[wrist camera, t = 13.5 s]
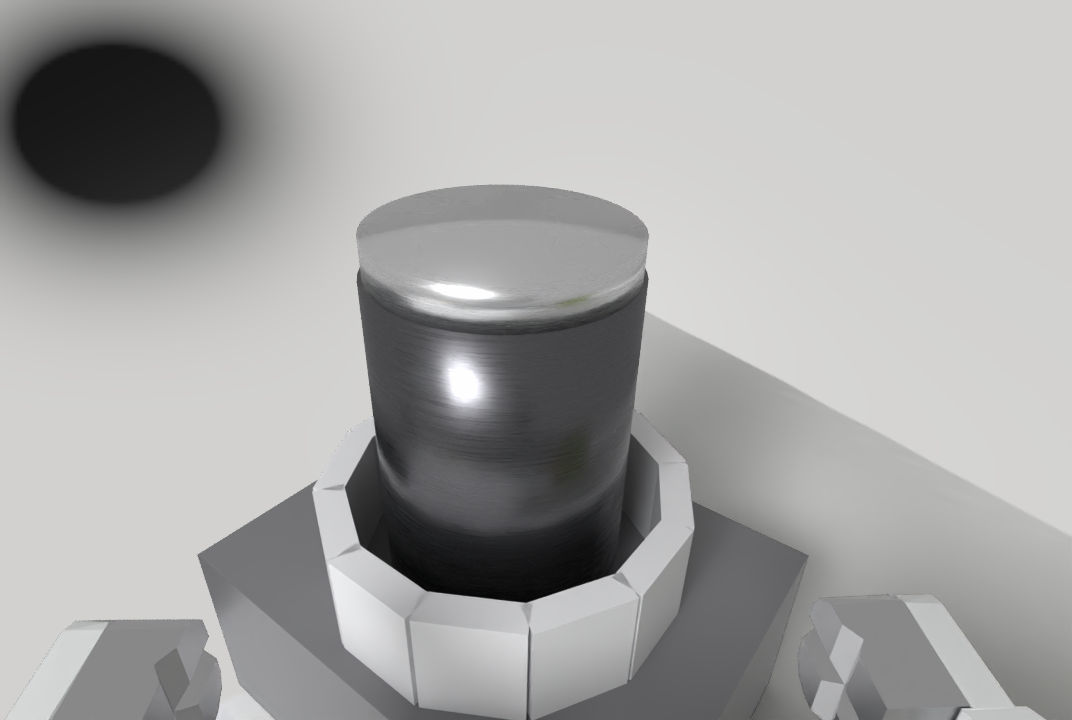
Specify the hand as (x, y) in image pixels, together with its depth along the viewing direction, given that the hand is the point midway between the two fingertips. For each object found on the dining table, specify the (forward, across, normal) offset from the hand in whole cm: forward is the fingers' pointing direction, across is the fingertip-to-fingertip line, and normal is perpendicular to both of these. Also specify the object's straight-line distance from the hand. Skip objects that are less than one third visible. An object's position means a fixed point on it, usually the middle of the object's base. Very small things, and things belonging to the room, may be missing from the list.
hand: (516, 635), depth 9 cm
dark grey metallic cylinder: (+8, 0, +7) cm, 11 cm away
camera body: (+8, 0, +13) cm, 15 cm away
